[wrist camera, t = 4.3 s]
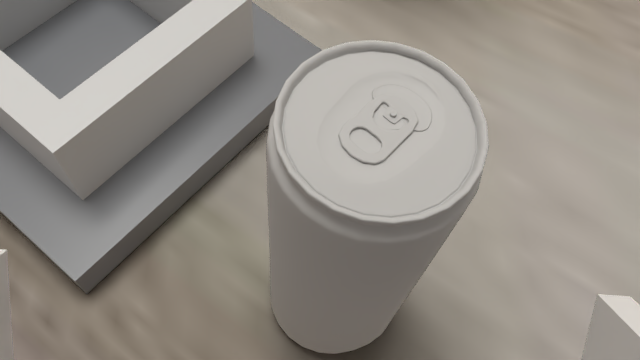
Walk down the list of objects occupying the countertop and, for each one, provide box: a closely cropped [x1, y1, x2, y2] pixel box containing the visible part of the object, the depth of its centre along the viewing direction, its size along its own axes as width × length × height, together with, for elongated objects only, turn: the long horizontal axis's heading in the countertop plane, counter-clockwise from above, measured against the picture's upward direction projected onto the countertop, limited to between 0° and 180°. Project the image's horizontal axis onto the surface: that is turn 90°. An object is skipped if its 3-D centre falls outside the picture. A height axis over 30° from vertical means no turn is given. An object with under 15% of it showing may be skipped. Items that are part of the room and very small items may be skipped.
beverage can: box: [266, 40, 489, 354], centre depth 18 cm, size 5×5×12 cm
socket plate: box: [0, 0, 322, 294], centre depth 25 cm, size 14×14×5 cm
